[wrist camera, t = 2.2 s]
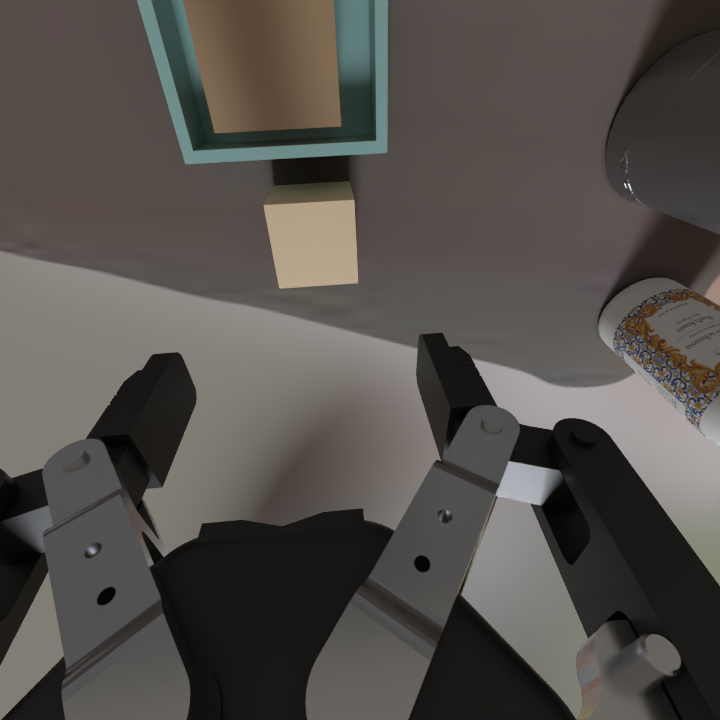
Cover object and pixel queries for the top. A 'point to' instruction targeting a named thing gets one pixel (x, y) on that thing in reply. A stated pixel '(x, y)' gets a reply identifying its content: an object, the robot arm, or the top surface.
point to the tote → (355, 136)
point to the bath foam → (670, 346)
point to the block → (267, 63)
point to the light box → (313, 234)
